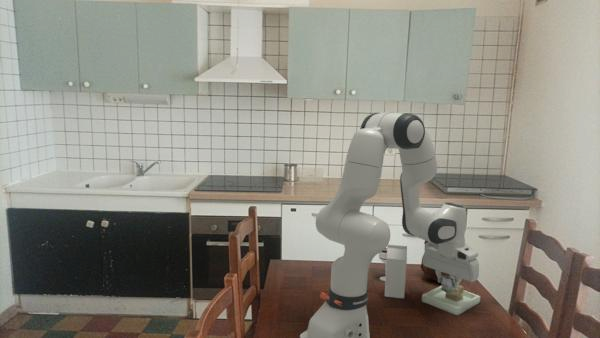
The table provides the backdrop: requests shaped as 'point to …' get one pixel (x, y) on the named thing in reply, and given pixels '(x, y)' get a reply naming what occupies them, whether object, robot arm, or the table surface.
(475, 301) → the tray
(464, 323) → the table surface
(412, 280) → the table surface
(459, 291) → the beech block
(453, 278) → the grey rounded cylinder
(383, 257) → the wineglass
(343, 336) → the robot arm
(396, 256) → the milk carton
